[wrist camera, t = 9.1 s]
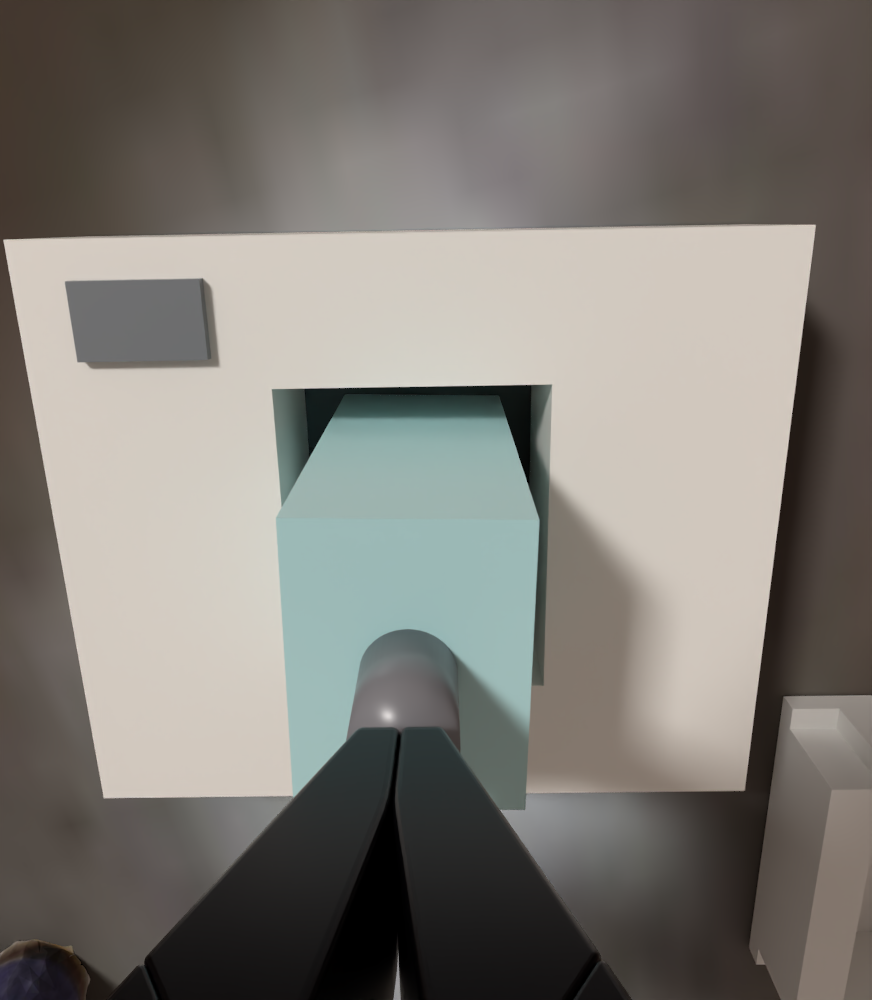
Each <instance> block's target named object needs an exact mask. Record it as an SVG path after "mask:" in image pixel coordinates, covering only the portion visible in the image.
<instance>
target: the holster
mask: <svg viewBox="0 0 872 1000" xmlns="http://www.w3.org/2000/svg"><path fill="white" fill-rule="evenodd" d="M749 949H750V951H751V954H752V956H753V958H754V961H755V963H756V965H766V967H767V970H768V972H769V974H770V976H771V979H772V981H773V983H774V986H775V988H776V990H777V992H778V995H779V997H780V999H781V1000H872V695H849V696H783V703H782V711H781V718H780V725H779V732H778V740H777V747H776V754H775V761H774V769H773V776H772V783H771V790H770V798H769V805H768V812H767V819H766V827H765V834H764V841H763V848H762V856H761V863H760V870H759V877H758V884H757V892H756V899H755V906H754V913H753V921H752V928H751V935H750V942H749Z"/></svg>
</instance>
